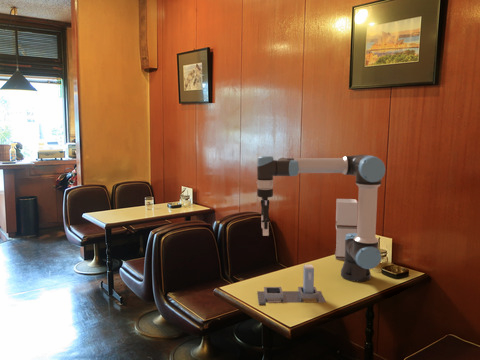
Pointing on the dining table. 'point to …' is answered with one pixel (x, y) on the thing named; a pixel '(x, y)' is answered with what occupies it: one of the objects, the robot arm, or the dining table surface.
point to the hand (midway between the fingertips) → (264, 231)
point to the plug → (308, 279)
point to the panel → (288, 296)
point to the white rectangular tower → (345, 223)
